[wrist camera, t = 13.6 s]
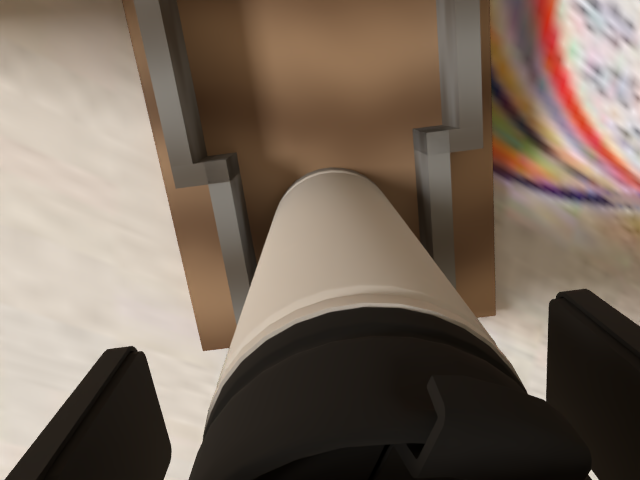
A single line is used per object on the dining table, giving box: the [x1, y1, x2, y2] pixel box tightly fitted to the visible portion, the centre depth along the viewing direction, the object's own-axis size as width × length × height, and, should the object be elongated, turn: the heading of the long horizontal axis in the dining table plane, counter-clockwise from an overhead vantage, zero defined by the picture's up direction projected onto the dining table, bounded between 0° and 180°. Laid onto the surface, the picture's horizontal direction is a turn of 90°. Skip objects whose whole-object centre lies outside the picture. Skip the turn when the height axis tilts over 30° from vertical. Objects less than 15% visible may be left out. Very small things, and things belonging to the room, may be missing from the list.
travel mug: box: [189, 167, 592, 480], centre depth 15 cm, size 6×7×20 cm
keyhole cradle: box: [122, 0, 496, 351], centre depth 22 cm, size 25×17×4 cm
